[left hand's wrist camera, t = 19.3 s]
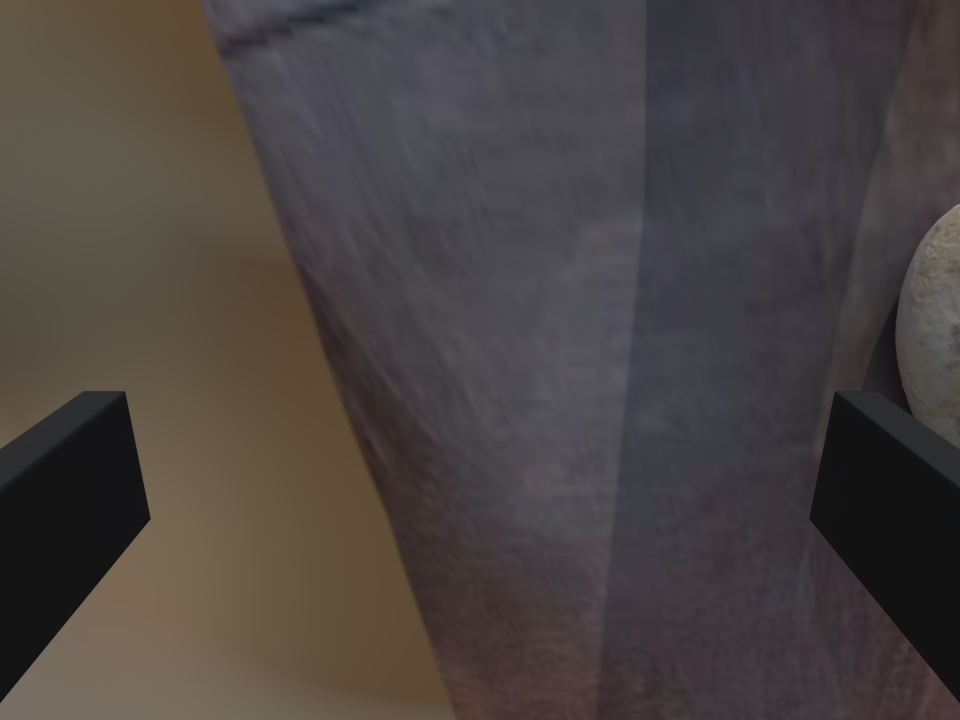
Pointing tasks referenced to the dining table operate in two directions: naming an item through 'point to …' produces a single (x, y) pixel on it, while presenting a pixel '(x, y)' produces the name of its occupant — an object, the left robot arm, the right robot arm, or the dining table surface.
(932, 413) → the decorative stone
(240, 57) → the dining table surface
